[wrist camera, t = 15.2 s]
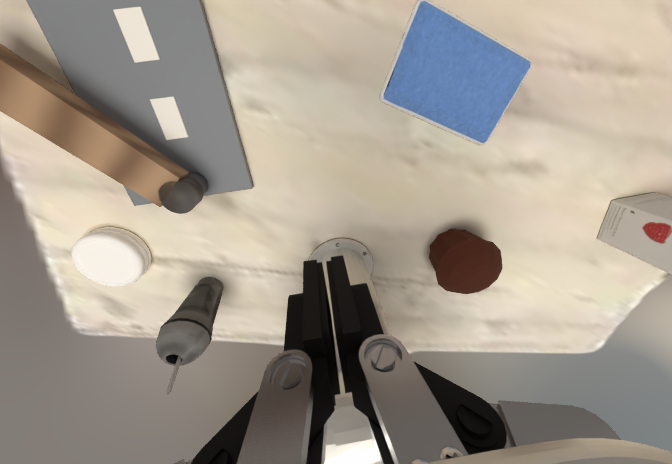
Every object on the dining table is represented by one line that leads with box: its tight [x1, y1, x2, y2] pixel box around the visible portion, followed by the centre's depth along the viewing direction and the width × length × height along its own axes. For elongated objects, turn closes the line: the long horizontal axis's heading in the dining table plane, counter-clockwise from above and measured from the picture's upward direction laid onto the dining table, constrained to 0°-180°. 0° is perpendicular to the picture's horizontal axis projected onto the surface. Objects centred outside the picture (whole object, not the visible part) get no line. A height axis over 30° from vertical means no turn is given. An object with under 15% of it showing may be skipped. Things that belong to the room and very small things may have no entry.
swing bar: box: [0, 44, 203, 214], centre depth 30 cm, size 26×5×3 cm, turn 48°
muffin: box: [429, 229, 502, 294], centre depth 46 cm, size 12×11×10 cm
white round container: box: [71, 227, 151, 287], centre depth 42 cm, size 10×10×4 cm
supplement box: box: [597, 192, 672, 275], centre depth 45 cm, size 9×9×15 cm
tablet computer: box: [379, 0, 532, 145], centre depth 37 cm, size 19×13×1 cm, turn 69°
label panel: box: [26, 0, 254, 206], centre depth 32 cm, size 26×18×4 cm
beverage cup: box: [156, 277, 223, 395], centre depth 40 cm, size 7×7×20 cm
